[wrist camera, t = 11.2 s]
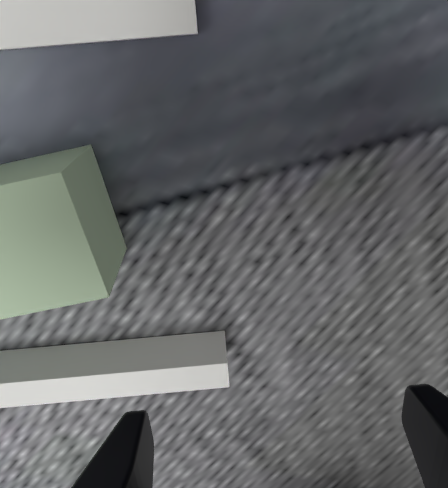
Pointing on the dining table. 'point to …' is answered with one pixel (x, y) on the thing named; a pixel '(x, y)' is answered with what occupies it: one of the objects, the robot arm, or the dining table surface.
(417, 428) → the robot arm
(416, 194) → the dining table surface
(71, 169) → the plug block
